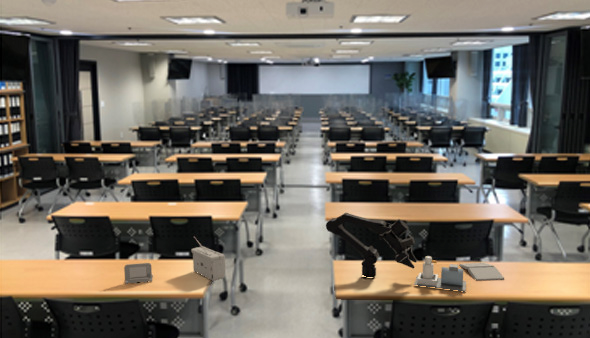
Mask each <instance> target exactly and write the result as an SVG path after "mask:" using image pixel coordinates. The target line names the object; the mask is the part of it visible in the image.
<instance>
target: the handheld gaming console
mask: <svg viewBox="0 0 590 338" xmlns="http://www.w3.org/2000/svg"><path fill="white" fill-rule="evenodd" d="M123 270H124V281H125V282H124V285H129V284H128V283H133V284H138V283H137V282H144V283H148V282H147V281H152V282H153V279H154V275H153V272H152V271H153V270H152V263H150V262H144V263H129V264H127V263H126V264H125V265H124V268H123ZM152 278H153V279H152Z"/></svg>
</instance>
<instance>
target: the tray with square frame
mask: <svg viewBox="0 0 590 338" xmlns="http://www.w3.org/2000/svg"><path fill="white" fill-rule="evenodd" d="M440 273H441V275H440V277H439V274H436V273H433V280H431V279H422V275H423V272H419V273H418V275H417V276H416V279H415V281H414V284H413V286H414V285H418V286H426V287H435V288H443V289H450V290H458V291H463V292H462V293H464V292H465V291H466V292H467V290H466V289H467V281H466V280H464V268H459V264H453V263H449V267H444V266H442V267H441V271H440ZM466 292H465V293H466Z"/></svg>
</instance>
